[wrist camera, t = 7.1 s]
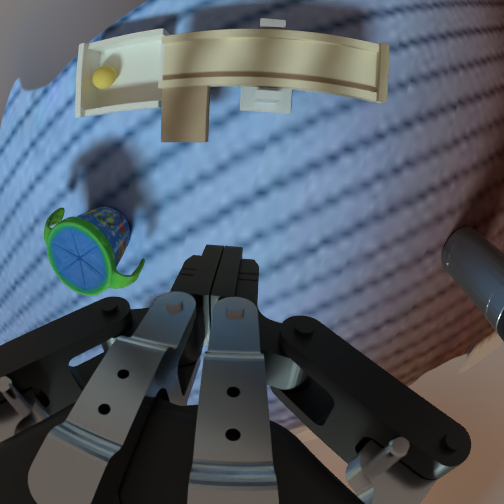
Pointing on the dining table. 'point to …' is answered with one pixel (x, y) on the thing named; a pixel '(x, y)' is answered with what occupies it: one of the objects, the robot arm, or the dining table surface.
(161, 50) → the tray
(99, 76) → the ball
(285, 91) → the stand
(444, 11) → the dining table surface
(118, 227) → the snack cup
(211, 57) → the lever
